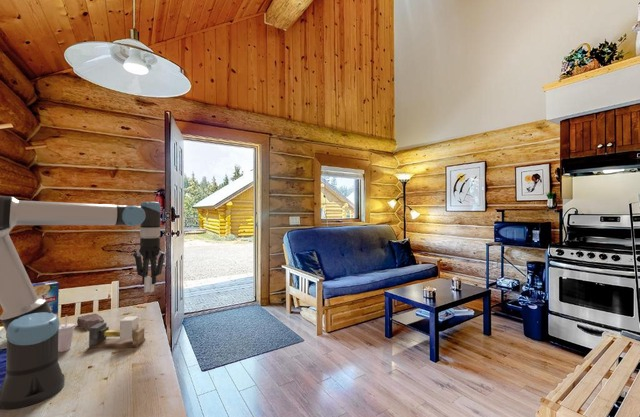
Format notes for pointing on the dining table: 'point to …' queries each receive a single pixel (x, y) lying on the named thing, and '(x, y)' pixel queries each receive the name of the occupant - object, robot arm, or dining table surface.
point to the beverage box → (48, 294)
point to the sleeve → (128, 326)
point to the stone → (89, 321)
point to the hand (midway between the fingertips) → (149, 291)
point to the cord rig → (101, 332)
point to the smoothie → (65, 336)
